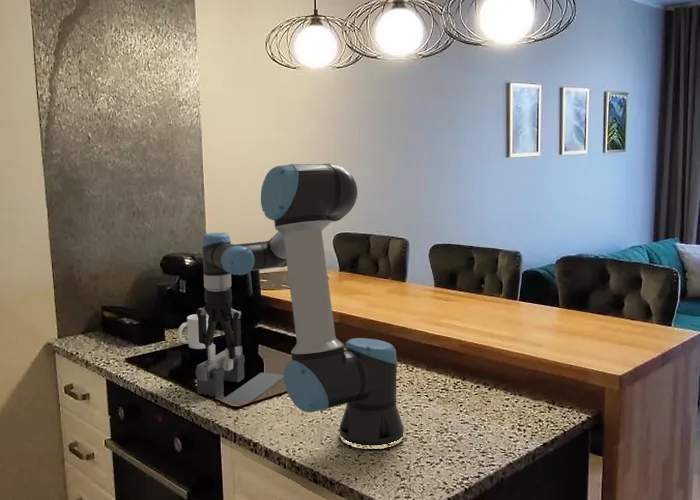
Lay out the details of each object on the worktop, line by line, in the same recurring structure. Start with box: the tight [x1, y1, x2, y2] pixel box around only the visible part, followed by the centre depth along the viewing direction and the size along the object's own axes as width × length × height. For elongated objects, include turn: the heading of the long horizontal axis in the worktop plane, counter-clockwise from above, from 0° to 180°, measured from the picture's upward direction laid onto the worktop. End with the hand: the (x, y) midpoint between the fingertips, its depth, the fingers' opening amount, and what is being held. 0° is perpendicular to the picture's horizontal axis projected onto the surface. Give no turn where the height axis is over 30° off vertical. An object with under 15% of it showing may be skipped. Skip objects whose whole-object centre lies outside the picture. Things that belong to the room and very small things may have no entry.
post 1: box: [194, 368, 225, 398], centre depth 190 cm, size 4×7×7 cm, turn 71°
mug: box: [177, 313, 214, 350], centre depth 234 cm, size 12×8×10 cm
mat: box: [220, 372, 284, 402], centre depth 193 cm, size 26×8×1 cm, turn 160°
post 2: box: [223, 354, 246, 384], centre depth 202 cm, size 4×7×7 cm, turn 70°
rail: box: [196, 345, 244, 381], centre depth 195 cm, size 20×3×4 cm, turn 160°
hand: (220, 368), depth 196 cm, fingers open, 5 cm apart
